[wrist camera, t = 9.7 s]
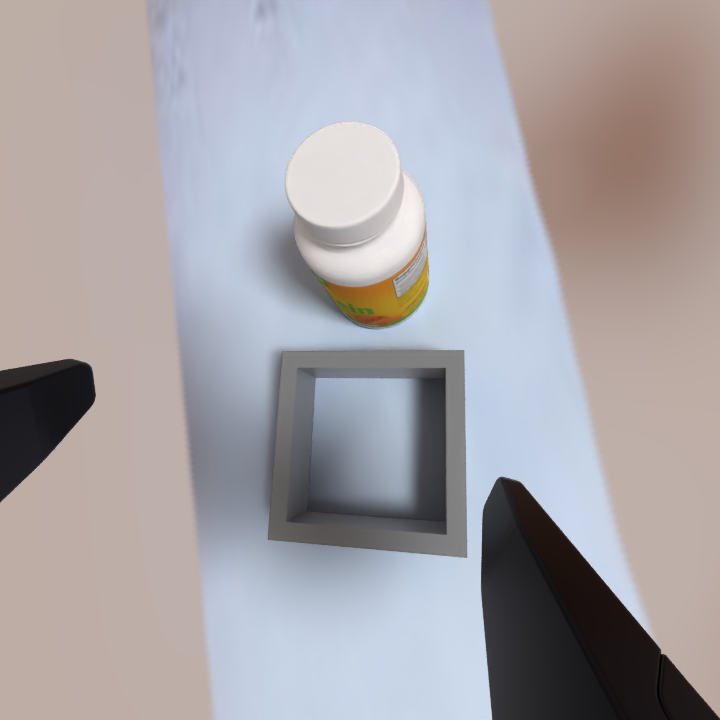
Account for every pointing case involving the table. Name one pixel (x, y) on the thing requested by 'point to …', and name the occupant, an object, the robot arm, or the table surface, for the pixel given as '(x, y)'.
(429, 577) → the table surface
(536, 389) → the table surface
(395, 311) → the supplement bottle
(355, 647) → the table surface
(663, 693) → the robot arm
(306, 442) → the frame
